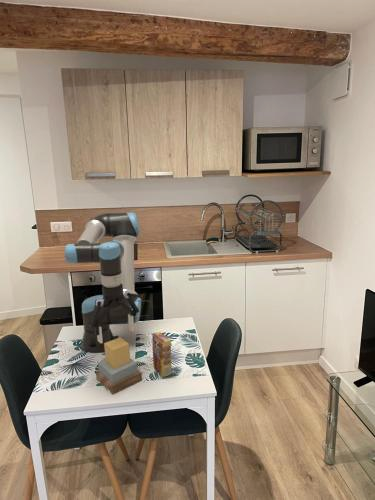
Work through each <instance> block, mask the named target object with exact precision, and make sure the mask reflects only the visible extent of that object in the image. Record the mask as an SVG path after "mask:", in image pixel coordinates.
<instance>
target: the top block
mask: <svg viewBox="0 0 375 500" xmlns="http://www.w3.org/2000/svg"><path fill="white" fill-rule="evenodd" d="M97 367H98V370H99V372H100V373H101V374H102V375H103V376H104V377H105V378H106V379H108V380H109V381H110V382H111V383H112V384H114V383H116V382H118V381H120V380H122V379H124V378H126V377H128V376H131V375H133V374H135V373H137V369H138V363H137V362H136V361H135V360H134V359H132V358H130V363H128V364H125V365H123V366H121V367H118V368H116V369H114V368H112V367H111V366H110V365H109V364H108V363H107V362H106V358H105V359H104V360H101V361H98V362H97ZM98 370H97V371H98Z"/></svg>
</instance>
